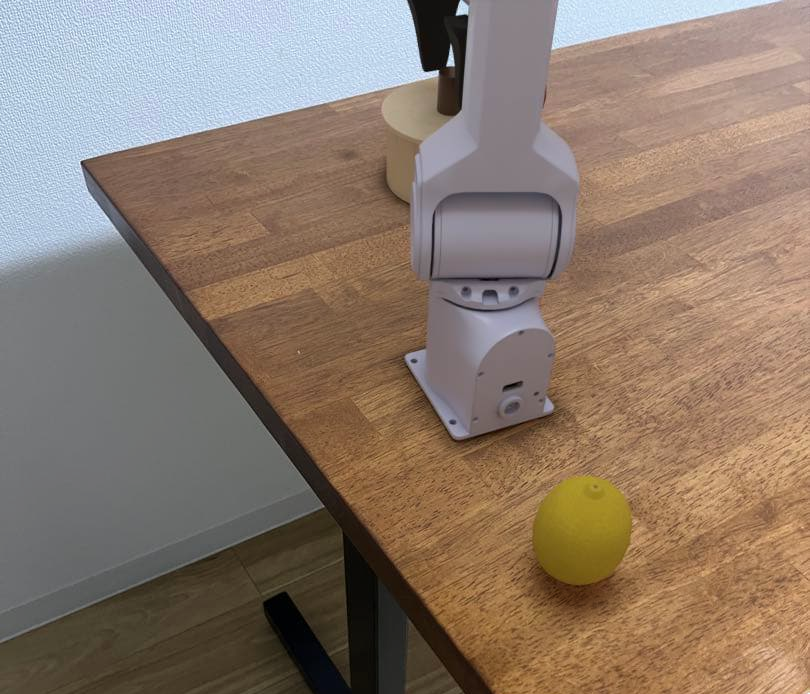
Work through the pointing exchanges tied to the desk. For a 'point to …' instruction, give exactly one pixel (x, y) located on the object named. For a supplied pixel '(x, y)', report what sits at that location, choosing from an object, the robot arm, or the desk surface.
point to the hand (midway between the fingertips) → (451, 87)
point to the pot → (400, 165)
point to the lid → (421, 107)
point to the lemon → (582, 530)
